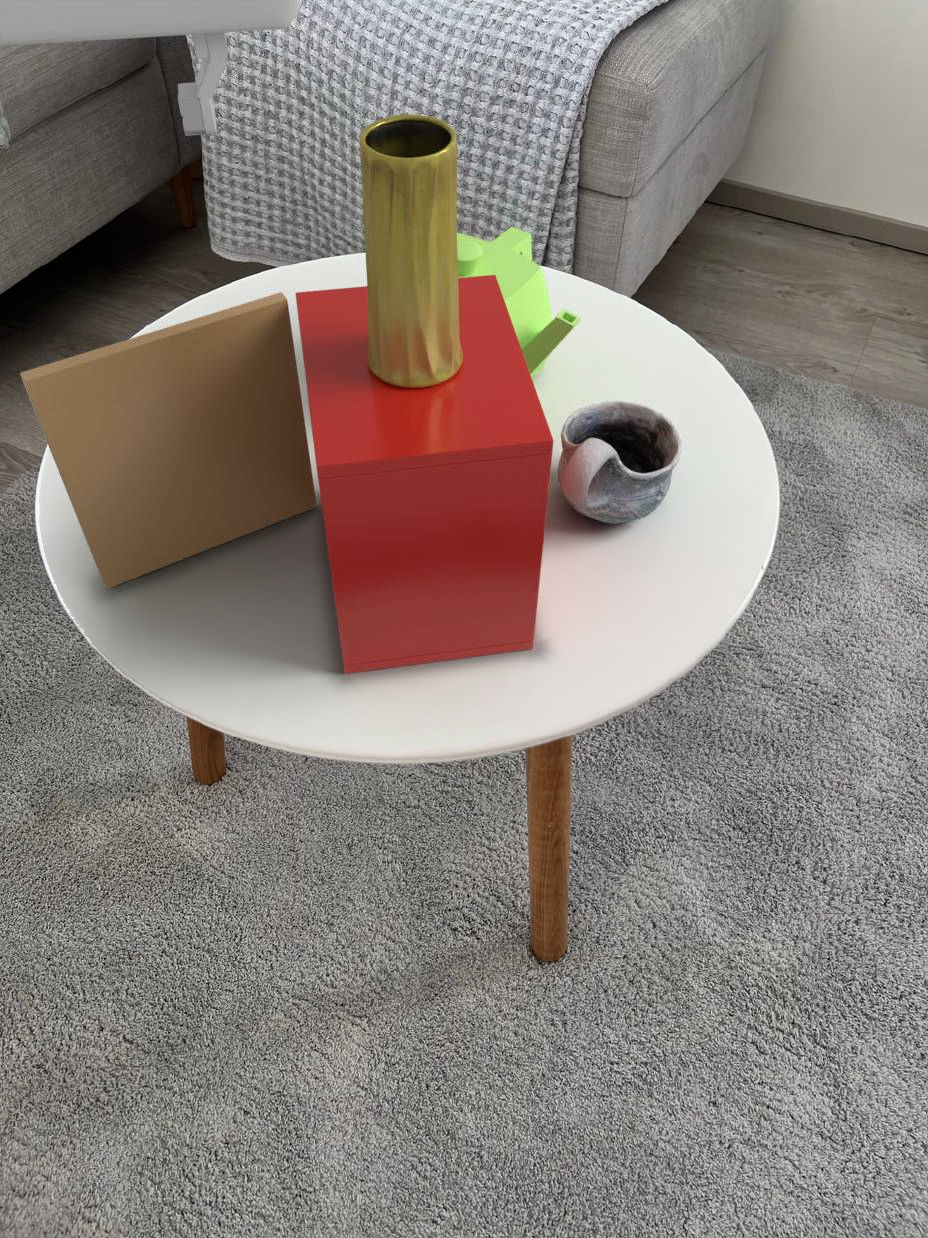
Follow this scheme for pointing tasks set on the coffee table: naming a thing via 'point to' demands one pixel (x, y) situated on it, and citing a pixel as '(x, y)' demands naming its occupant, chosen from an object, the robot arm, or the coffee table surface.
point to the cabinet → (428, 486)
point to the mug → (617, 460)
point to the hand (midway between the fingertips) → (98, 136)
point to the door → (179, 436)
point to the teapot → (518, 291)
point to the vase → (411, 249)
